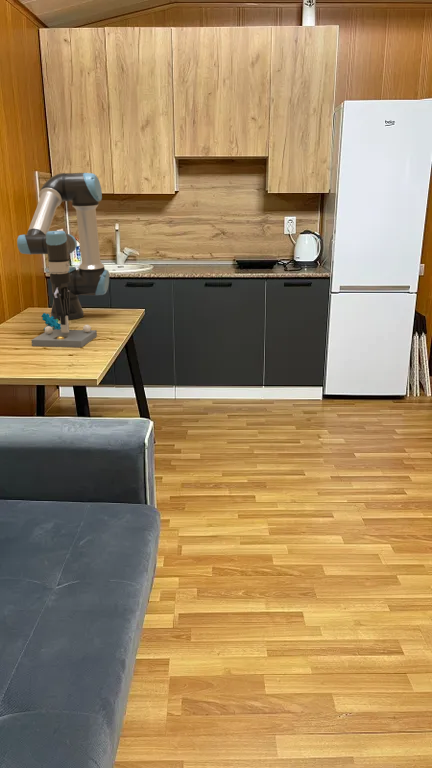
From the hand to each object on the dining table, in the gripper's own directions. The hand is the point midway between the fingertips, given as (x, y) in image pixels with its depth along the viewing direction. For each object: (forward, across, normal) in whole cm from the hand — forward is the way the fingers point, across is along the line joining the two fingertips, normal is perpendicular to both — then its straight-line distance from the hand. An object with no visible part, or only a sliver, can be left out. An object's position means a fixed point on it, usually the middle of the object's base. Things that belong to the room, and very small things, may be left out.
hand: (65, 332), depth 224 cm
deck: (+4, -1, 0) cm, 4 cm away
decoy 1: (-1, 0, +7) cm, 7 cm away
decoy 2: (-1, +4, -8) cm, 9 cm away
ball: (+2, -6, 0) cm, 6 cm away
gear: (+4, +17, +13) cm, 22 cm away
